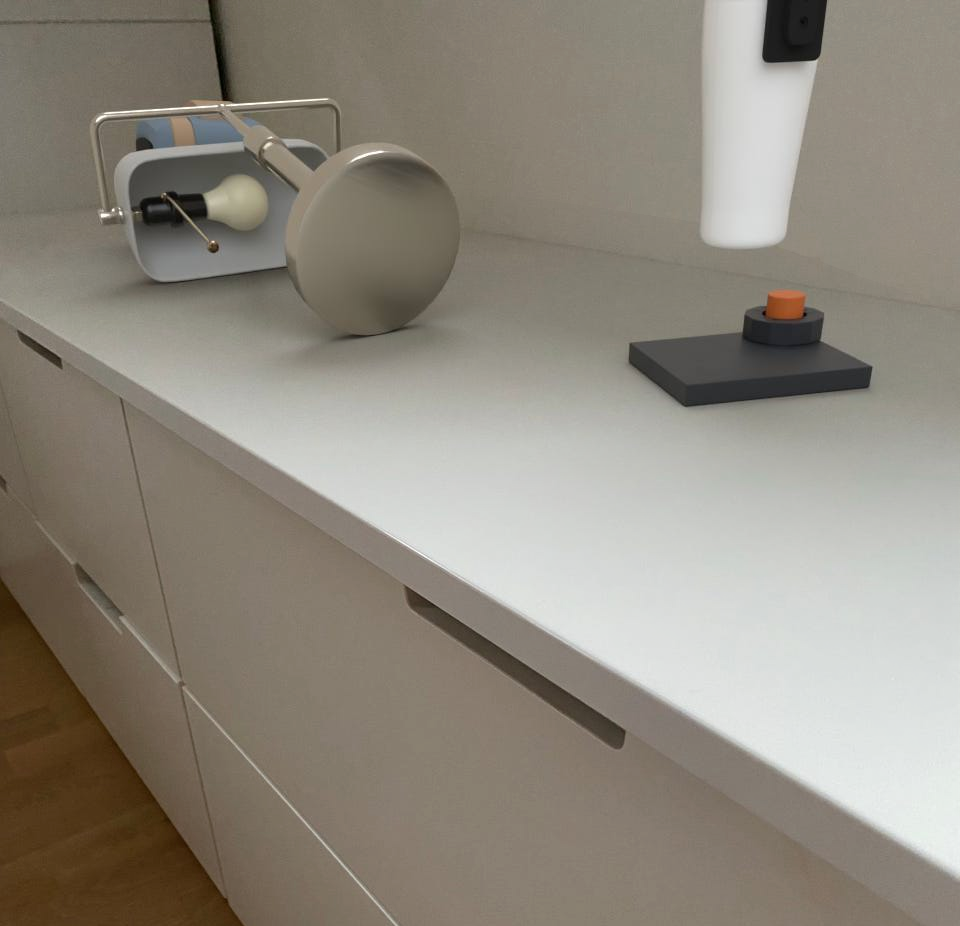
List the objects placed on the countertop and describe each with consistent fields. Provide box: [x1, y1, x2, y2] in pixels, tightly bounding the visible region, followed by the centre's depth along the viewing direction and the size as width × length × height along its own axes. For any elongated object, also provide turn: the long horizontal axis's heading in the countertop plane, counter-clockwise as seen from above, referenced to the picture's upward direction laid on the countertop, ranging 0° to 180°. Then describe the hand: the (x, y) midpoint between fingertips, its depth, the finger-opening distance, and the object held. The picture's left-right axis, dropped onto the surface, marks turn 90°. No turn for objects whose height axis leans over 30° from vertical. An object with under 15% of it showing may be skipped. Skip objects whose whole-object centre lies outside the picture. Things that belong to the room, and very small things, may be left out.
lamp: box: [89, 97, 461, 336], centre depth 92 cm, size 27×23×40 cm
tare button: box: [766, 289, 807, 319], centre depth 71 cm, size 3×3×2 cm
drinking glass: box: [698, 0, 819, 251], centre depth 58 cm, size 7×7×15 cm
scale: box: [628, 305, 874, 407], centre depth 68 cm, size 14×12×3 cm
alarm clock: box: [135, 99, 265, 152], centre depth 121 cm, size 16×16×16 cm
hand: (760, 58), depth 57 cm, fingers closed on drinking glass, 6 cm apart
